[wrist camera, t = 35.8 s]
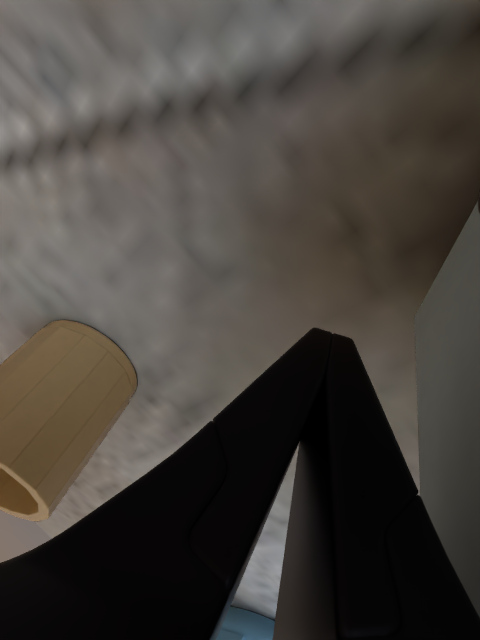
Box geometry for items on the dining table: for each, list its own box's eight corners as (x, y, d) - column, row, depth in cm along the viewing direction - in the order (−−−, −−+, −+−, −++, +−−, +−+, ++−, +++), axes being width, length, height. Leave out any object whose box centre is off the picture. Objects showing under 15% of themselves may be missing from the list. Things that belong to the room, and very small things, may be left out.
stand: (140, 413, 22) (60, 537, 17) (51, 380, 23) (-51, 487, 18) (135, 341, 19) (31, 471, 13) (29, 305, 19) (-108, 413, 14)
